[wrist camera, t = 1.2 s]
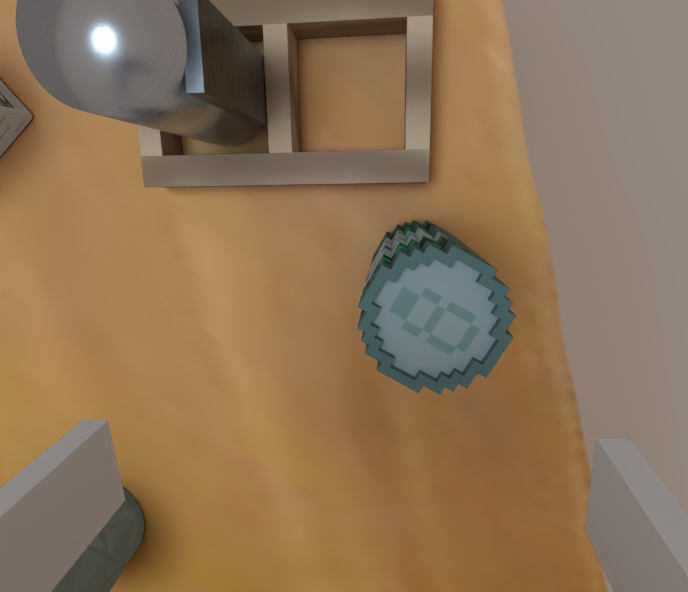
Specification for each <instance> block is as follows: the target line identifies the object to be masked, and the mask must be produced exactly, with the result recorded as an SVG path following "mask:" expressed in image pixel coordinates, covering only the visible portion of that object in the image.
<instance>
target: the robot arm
mask: <svg viewBox="0 0 688 592" xmlns="http://www.w3.org/2000/svg"><path fill="white" fill-rule="evenodd" d="M124 501H125V496H124V491H123V487H122V482H121V478H120V474H119V469H118V465H117V460H116V456H115V451H114V447H113V443H112V438H111V434H110V429H109V425H108V421H105V420H82V421H81V422H80V423H79V424H77V425H76V426H75V427H74V428H73V429H71V430H70V431H69V432H68V433H67V434H65V435H64V436H63V437H62V438H60V439H59V440H58V441H57V442H56V443H54V444H53V445H52V446H51V447H50V448H48V449H47V450H46V451H45V452H44V453H42V454H41V455H40V456H39V457H38V458H36V459H35V460H34V461H33V462H32V463H30V464H29V465H28V466H27V467H26V468H24V469H23V470H22V471H21V472H20V473H18V474H17V475H16V476H15V477H14V478H12V479H11V480H10V481H9V482H8V483H6V484H5V485H4V486H3V487H2V488H0V592H52V590H53V589H54V588H55V587H56V585H57V584H58V583H59V582H60V580H61V579H62V578H63V577H64V575H65V574H66V573H67V572H68V570H69V569H70V568H71V567H72V566H73V564H74V563H75V562H76V561H77V559H78V558H79V557H80V556H81V554H82V553H83V552H84V551H85V549H86V548H87V547H88V546H89V544H90V543H91V542H92V541H93V539H94V538H95V537H96V536H97V535H98V533H99V532H100V531H101V530H102V528H103V527H104V526H105V525H106V523H107V522H108V521H109V520H110V518H111V517H112V516H113V515H114V513H115V512H116V511H117V510H118V508H119V507H120V506H121V505H122V504H123V502H124ZM584 529H585V531H586V533H587V535H588V537H589V539H590V541H591V544H592V546H593V548H594V550H595V552H596V554H597V556H598V559H599V561H600V563H601V565H602V567H603V569H604V571H605V573H606V576H607V578H608V580H609V582H610V584H611V586H612V588H613V590H614V592H688V514H687V513H686V512H685V510H684V509H683V508H682V507H681V505H680V504H679V503H678V501H677V500H676V499H675V497H674V496H673V495H672V493H671V492H670V491H669V490H668V488H667V487H666V486H665V485H664V483H663V482H662V480H661V479H660V478H659V477H658V475H657V474H656V473H655V471H654V470H653V469H652V468H651V466H650V465H649V464H648V462H647V461H646V460H645V458H644V457H643V456H642V455H641V453H640V452H639V451H638V449H637V448H636V447H635V445H634V444H633V443H632V442H631V440H630V439H605V438H596V445H595V452H594V459H593V467H592V474H591V481H590V489H589V496H588V503H587V511H586V518H585V525H584Z"/></svg>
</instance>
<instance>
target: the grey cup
mask: <svg viewBox="0 0 688 592" xmlns="http://www.w3.org/2000/svg"><path fill="white" fill-rule="evenodd" d="M123 491H124V496H125V501H124V502H123V504H122V505H121V506H120V507H119V508H118V510H117V511H116V512H115V513H114V515H113V516H112V517H111V518H110V520H109V521H108V522H107V523H106V525H105V526H104V527H103V528H102V530H101V531H100V532H99V533H98V535H97V536H96V537H95V538H94V539H93V541H92V542H91V543H90V544H89V546H88V547H87V548H86V549H85V551H84V552H83V553H82V554H81V556H80V557H79V558H78V559H77V561H76V562H75V563H74V564H73V566H72V567H71V568H70V569H69V570H68V572H67V573H66V574H65V575H64V577H63V578H62V579H61V580H60V582H59V583H58V584H57V585H56V587H55V588H54V589H53V590H52V592H109V591H110V589H111V588H112V587H113V586H114V584H115V582H116V580H117V579H118V577H119V576H120V574H121V573H122V567H123V566H124V565H126V564H127V563H128V562H129V561H130V559H131V557H132V556H133V554H134V553H135V551H136V550H137V548H138V546H139V545H140V543H141V540H142V538H143V534H144V529H145V522H144V516H143V512H142V510H141V508H140V506H139V504H138V503H137V501H136V500H135V498H134V497H133V496H132V495H131V494H130V493H129V492H128V491H127V490H126V489H125V488H123Z"/></svg>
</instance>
